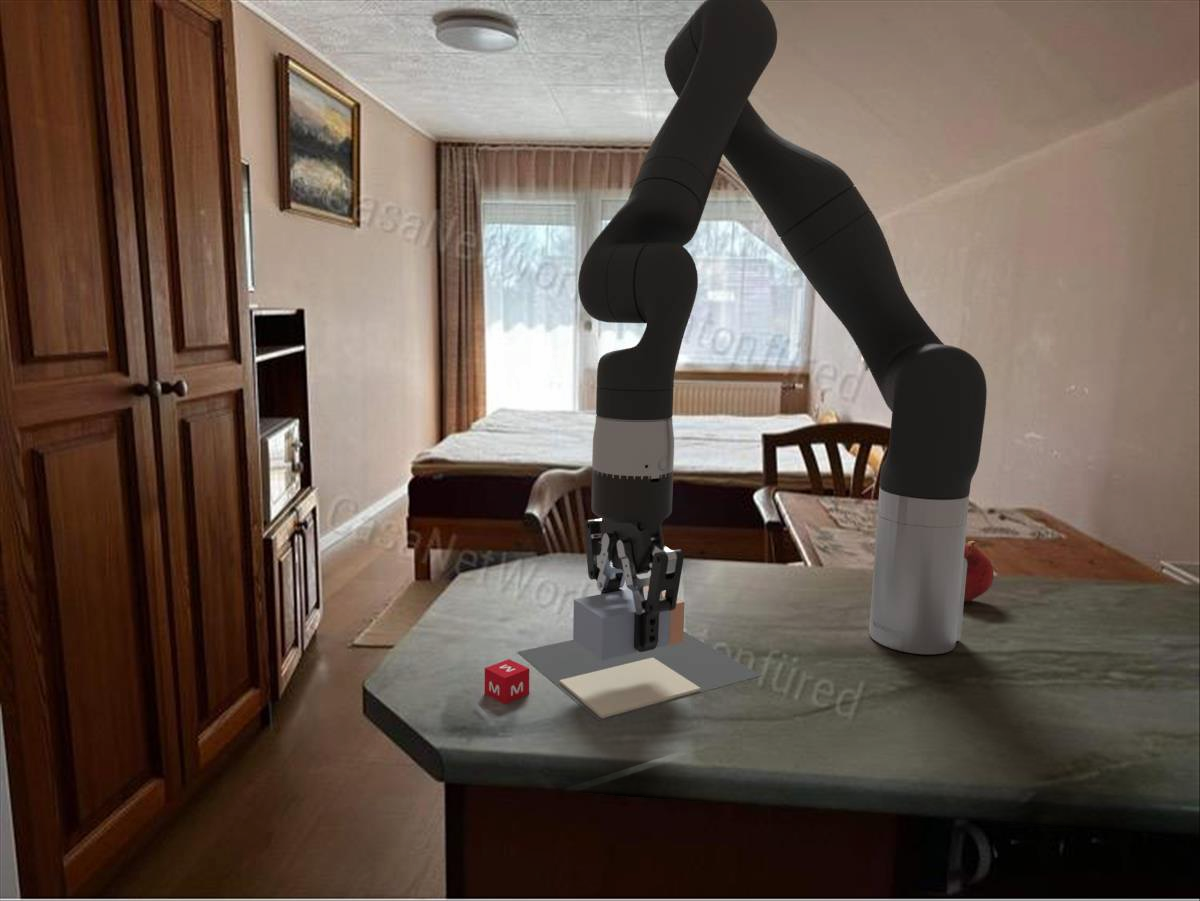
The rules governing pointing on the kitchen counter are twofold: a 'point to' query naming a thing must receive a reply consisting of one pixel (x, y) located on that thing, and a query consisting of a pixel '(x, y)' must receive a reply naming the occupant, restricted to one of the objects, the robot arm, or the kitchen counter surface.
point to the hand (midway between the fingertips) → (628, 637)
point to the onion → (977, 572)
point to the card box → (619, 623)
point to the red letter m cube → (506, 681)
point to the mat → (635, 674)
